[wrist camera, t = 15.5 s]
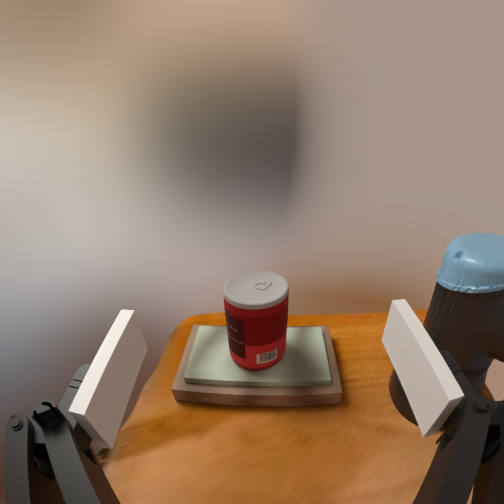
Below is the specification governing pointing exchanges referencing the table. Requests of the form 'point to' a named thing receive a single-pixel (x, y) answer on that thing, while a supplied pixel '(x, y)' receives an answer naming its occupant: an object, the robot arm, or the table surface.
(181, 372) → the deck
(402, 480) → the table surface
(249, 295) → the canned food
